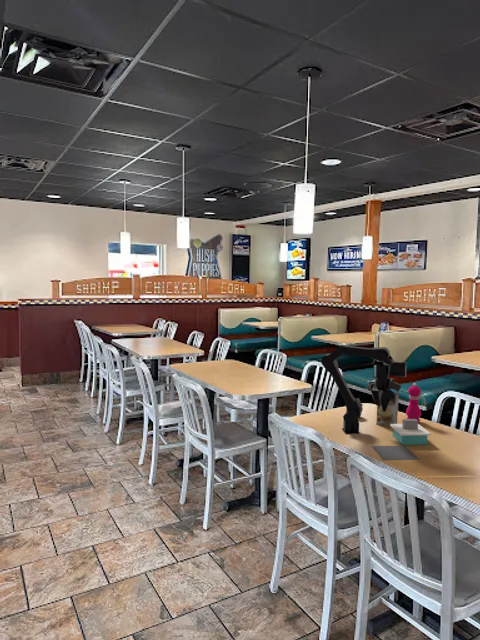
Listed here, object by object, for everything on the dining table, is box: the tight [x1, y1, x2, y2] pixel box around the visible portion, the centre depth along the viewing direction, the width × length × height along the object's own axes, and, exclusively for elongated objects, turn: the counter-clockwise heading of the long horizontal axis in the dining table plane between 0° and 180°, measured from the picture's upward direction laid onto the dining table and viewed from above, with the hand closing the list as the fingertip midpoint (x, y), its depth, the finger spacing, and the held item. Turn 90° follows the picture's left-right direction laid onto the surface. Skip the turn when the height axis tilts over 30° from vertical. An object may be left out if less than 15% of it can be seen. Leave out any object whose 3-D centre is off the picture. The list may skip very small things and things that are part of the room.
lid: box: [390, 418, 432, 436], centre depth 201 cm, size 13×13×5 cm
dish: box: [392, 428, 428, 446], centre depth 202 cm, size 11×11×5 cm
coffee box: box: [376, 392, 400, 428], centre depth 224 cm, size 9×6×16 cm
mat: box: [371, 445, 421, 461], centre depth 188 cm, size 15×15×1 cm
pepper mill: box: [405, 382, 422, 424], centre depth 228 cm, size 7×7×20 cm
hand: (380, 408), depth 207 cm, fingers open, 9 cm apart
